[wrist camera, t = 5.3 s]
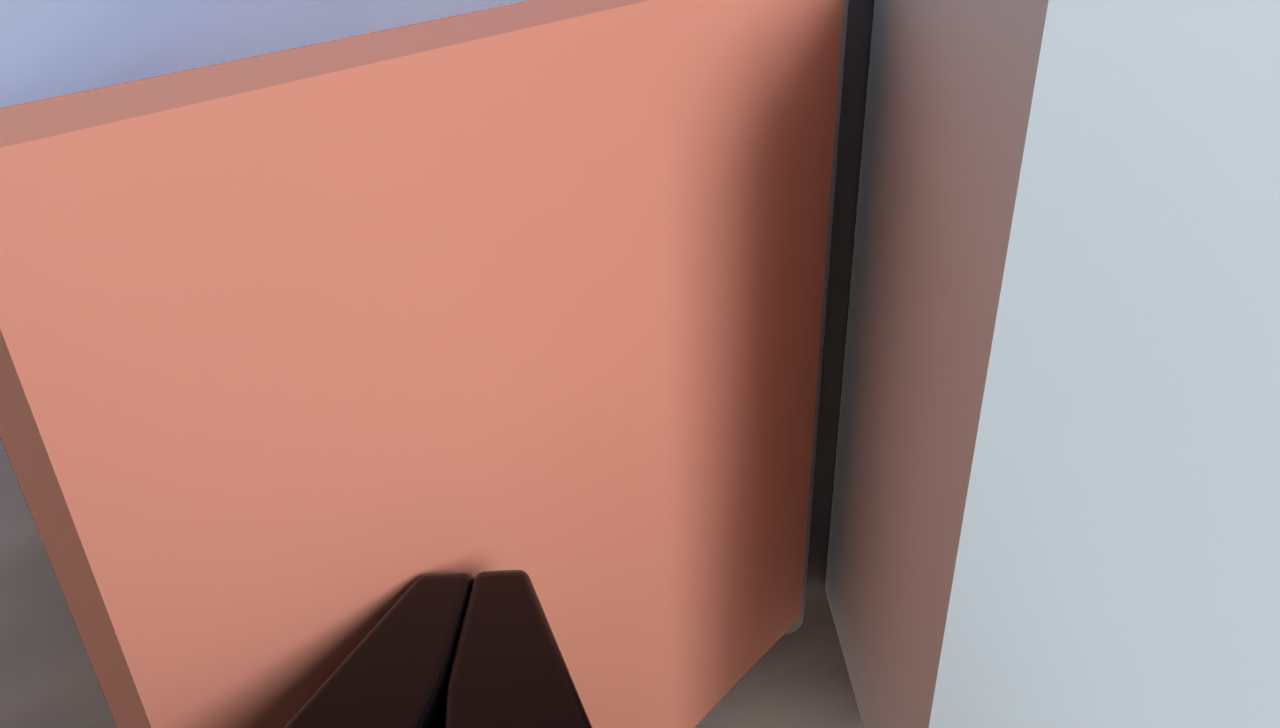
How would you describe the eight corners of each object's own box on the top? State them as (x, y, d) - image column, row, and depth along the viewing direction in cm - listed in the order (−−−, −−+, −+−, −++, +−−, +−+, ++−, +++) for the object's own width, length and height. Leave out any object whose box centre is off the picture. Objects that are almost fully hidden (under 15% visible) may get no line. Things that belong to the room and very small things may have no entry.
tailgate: (868, -71, 10) (-79, 117, 4) (814, 612, 14) (308, 1143, 9) (798, -75, 10) (-138, 92, 5) (767, 587, 15) (258, 1078, 9)
